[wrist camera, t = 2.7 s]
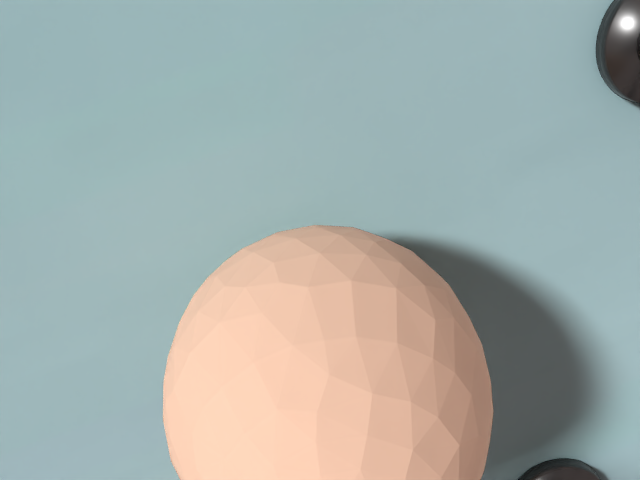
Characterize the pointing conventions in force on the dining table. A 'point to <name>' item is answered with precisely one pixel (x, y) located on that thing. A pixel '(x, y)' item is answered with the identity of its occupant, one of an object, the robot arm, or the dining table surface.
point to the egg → (326, 367)
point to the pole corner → (620, 48)
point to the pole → (560, 471)
